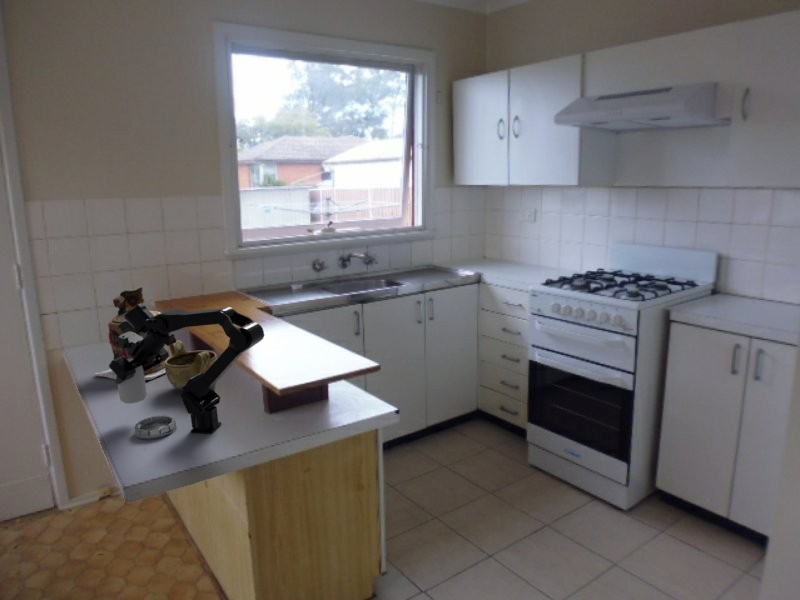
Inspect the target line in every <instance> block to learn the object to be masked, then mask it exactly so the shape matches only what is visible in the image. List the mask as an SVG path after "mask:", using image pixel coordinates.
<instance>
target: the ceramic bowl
mask: <svg viewBox="0 0 800 600" xmlns="http://www.w3.org/2000/svg"><path fill="white" fill-rule="evenodd" d="M168 347H169V349H170V353H171V356H170V357H168V359H167V360H166V361H165V371H166V373H165V374H166V378H167V380H168V381H169V383H170V384H171V385H172V387H174V388H175V389H177V390H180V391H182V390H183V389H182V387H184V386H185V385H186V384H187V382H188V381H189V379H191V378H193V377H195V376H196V375H198V374H200V373H203V374H204V373H205V372H206V371H207V370H208V369H209V368H210V366H211V365H212V364H213V363H214V362H215V361H216V360H217V359H218V356H217V353H216V352H214V351H212V350H190V351H187V350H186V349H185V346H184V344H183V342H182V341H181V340H177V339H176V343H174V344H172V345H169V346H168Z"/></svg>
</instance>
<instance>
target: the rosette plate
mask: <svg viewBox="0 0 800 600" xmlns="http://www.w3.org/2000/svg"><path fill="white" fill-rule="evenodd" d="M176 430H177V423H176V420H175V417H173V416H171V415H163V414H162V415H160V414H159V415H154V416H153V415H152V416H150V417H145V418H144V419H141V420H139V421H138V422H136V424H135V425H134V434H135V435H134V436H135V438H137V439H138V440H141V441H142V440H143V441H150V440H156V439H157V440H158V439H162V438H165V437H167V436H170V435H171V434H173V433H174V432H176Z"/></svg>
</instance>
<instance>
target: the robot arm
mask: <svg viewBox="0 0 800 600" xmlns="http://www.w3.org/2000/svg"><path fill="white" fill-rule="evenodd" d="M150 311H151V310H149V309H148V308H147V306H146V305H145V304H144V302H143V303H141V304H138V305H137V306H136V307H135V308H133V309H132V310H130V311H129V312H128V313H126V315H125V317H124V319H125V320H126V321H127V322H128V323H129V324H130V325H131V326H132V327H133V328H134V329H135V330H136V331H137V332H138V333H141V332H143V333H146V332H148V331H149V332H148V333H147V334H146V336H145V337H144V338H142V337H141V336H139V335H137V334H136V333H134V332H126V333H124V334H121V335H120V336H119V337H118V339H116V346H118V347H120V348H121V349H124V348H125V349H127V350H129V352H128V354H129V355H130V356H133V357H132V358H133V360H132V361H130V362H129V361H128V360H127V359H126V358H125V357H119V358H117V359H114V358H113V359H112V360H111V361H110V362H109V364H108V368H109V370H110V369H111V370H112V371H113V372H114V373H115V374H116V375H117V377H116V380H115V384H117V385H118V384H120V383H122V382H124V381H126V380H128V379H130V378H132V377H133V376H134V374H135V373H136V370H135V369H136V368H138V367H140V366H143V371H146V370H148V369H150V368H152V367H154V366H156V365H158V364H160V363H161V362H163V361H165V360H166V359H167V358H169V356H170V353H169V351H167V350H166V349H165V348H164V347H163V346H164V345H165V344H166V345H167V347H170V346H169V345H172V344H174V343H176V341H177V339H176V337H175V334H174V333H173V332H175V331H179V330H182V329H184V328H189V327H190V328H191V327H200V326H201V327H202V326H210V325H211V326H212V325H219V326H220V327H221V328H222V330H223V331H224V333H225V335H226V336H227V337H228V338H229V340H228V345H227V347H226V348H225V349H224V351H222V353H221V354H220V355H219V356H217V360H216V361H215V362H214V363H213V364H212V365H211V366H210V368H209V369H208V370H207V371H206V372H205V373H204V374H203V373H200V374H198V375H196V376H195V377H193V378H191V379H189V381H188V382H187V384H186V385H185V386H184V387H182V389H183V390H181V392H180V398H181V401H182V403H183V406H184V408H185V410H186V413H187V414H189V415H190V421H191V428H192V429H191V430H190V433H192V434H193V433H195V434H213V433H214V432H215V431H216V430H217V429H218V428H219V427H220V426H222V422H220V421H219V415H218V407H217V405H219V404H220V402H221V396H220V395H219V394H218V393H216V391H215V388H216V384H217V382H218V381H219V380H220V379H221V378H222V377H223V376H224V375H225V373H226V372H228V370H229V369H230V368H231V367H232V366H233V365H234V364H235V362H236V361H237V360H238V359H239V358H240V357H241V356H242V355H243V354H244V353H245V352H247V351H248V350H250V349H251V348H252V347H254V346H256V345H257V344H258V343H260V342H261V341H263V340H264V337H265V332H264V331H265V330H264V329H263V326H262V325H260V324H259V323H257V322H255V320H253V319H252V318H250V317H249V316H248V315H244V314H242V313H239V312H238V311H237V310H235V309H234V308H232V307H231V306H226V307H225V306H224V307H221V308H212V309H204V310H196V311H195V310H193V311H188V310H185V309H177V308H172V309H169V310H166V311H165V312H160V313H161V314H158V315H156V316H154V315H153V314H152V313H151V312H150ZM236 326H238V328H237V327H236ZM158 358H160V359H158Z"/></svg>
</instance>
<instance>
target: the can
mask: <svg viewBox="0 0 800 600" xmlns="http://www.w3.org/2000/svg"><path fill="white" fill-rule="evenodd" d="M127 360H128V361H129V362H130V361H132V360H133V359H127ZM135 370H136V373H135V374H134V376H133V377H132V378H130V379H128V380H126V381H124V382H122V383H120V384H117V389H118V390H117V391H118V395H119V400H120V401H121V402H123V403H124V404H130V405H131V404H134V403H140V402H141V401H143V400H145V398H146V397H147V396H148V392H147V386H146V385H147V384H146V383H147V382H146V380H145V377H144V371H143V366H140V367H138V368H136V369H135ZM116 377H117V375H116Z"/></svg>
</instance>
